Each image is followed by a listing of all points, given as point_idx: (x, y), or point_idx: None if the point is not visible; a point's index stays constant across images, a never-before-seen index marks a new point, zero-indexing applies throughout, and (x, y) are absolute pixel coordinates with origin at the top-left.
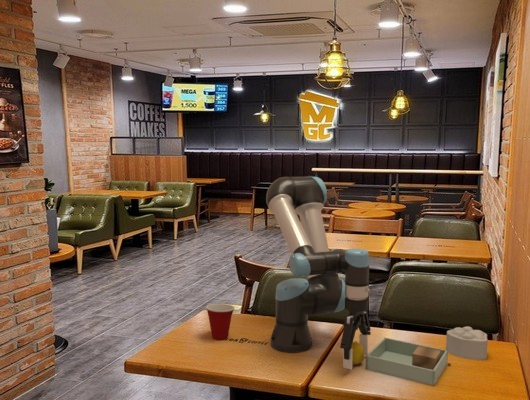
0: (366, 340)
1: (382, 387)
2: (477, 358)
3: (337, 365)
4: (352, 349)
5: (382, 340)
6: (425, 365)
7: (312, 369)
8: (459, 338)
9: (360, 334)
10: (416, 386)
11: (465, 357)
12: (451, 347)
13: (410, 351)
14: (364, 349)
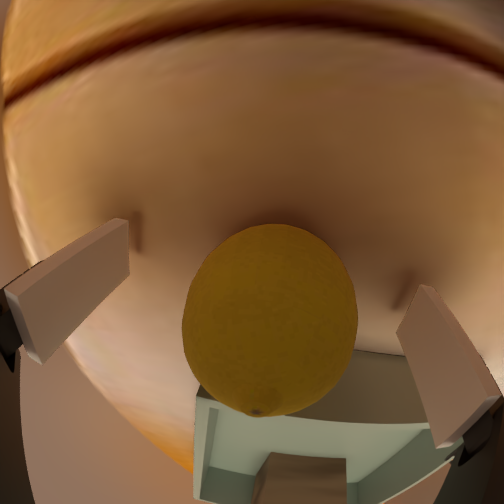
0: (429, 412)
1: (115, 371)
2: None
3: (225, 139)
4: (184, 331)
5: None
6: (257, 492)
7: (111, 29)
8: None
9: (491, 400)
10: (186, 441)
11: None
12: (421, 489)
13: (415, 453)
14: (415, 342)
